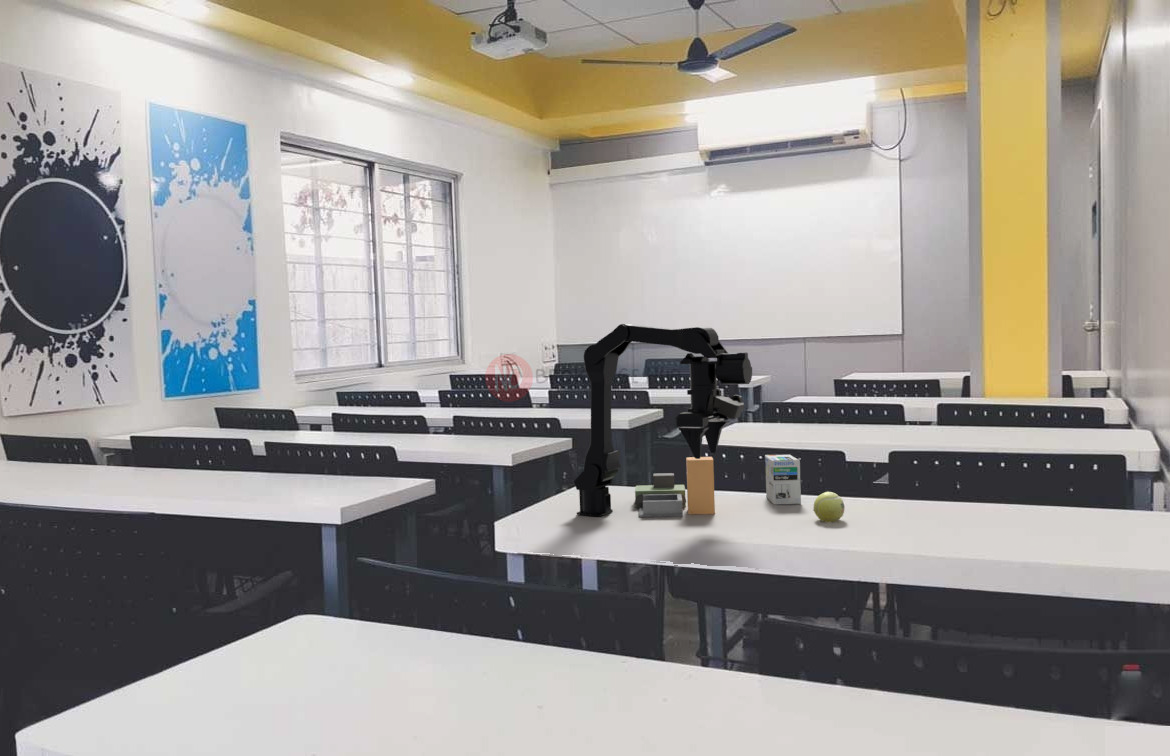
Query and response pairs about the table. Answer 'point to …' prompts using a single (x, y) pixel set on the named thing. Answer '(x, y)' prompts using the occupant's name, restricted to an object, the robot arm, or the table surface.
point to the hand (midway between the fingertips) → (705, 455)
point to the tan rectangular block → (700, 485)
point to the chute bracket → (661, 505)
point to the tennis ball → (829, 507)
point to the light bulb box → (783, 479)
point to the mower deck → (660, 488)
